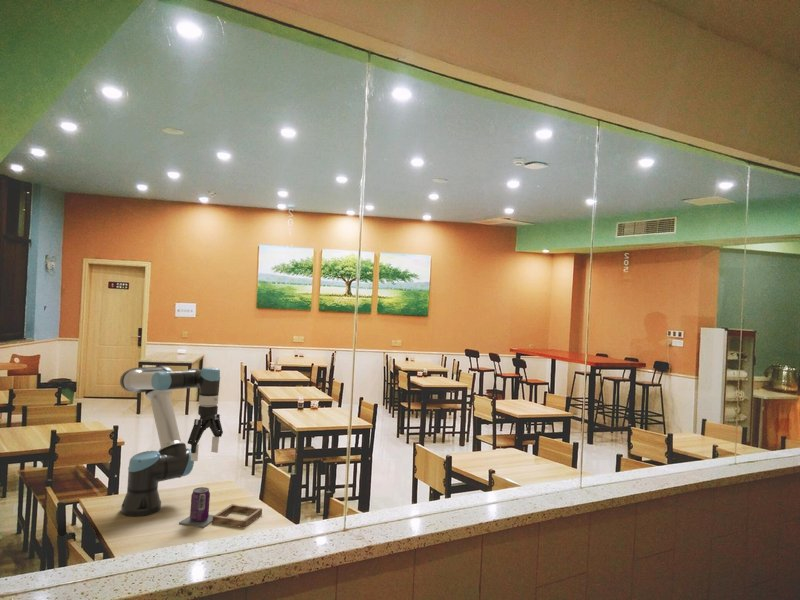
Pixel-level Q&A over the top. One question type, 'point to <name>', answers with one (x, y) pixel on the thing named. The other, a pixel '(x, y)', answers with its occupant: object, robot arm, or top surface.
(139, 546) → the top surface
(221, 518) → the frame
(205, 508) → the beverage can
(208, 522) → the coaster
